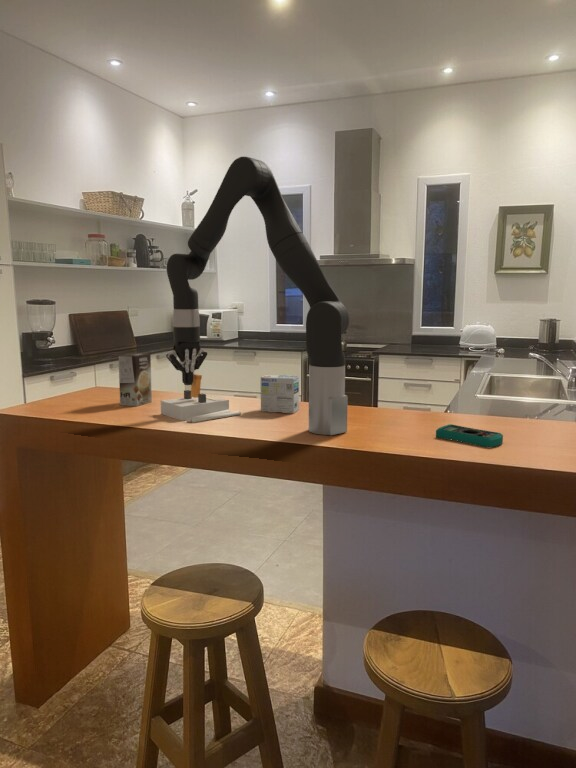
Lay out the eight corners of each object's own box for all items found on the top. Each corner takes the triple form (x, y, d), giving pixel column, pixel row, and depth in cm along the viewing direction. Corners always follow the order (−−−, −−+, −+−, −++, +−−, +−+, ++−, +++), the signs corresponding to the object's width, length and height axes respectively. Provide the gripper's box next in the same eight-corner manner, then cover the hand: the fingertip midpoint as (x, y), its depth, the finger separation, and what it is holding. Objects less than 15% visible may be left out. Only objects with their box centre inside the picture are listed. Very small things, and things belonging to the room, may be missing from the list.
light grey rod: (240, 415, 166) (240, 411, 166) (193, 423, 156) (193, 418, 156) (238, 414, 167) (238, 410, 167) (191, 422, 157) (191, 418, 157)
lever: (200, 397, 167) (201, 375, 166) (195, 397, 166) (197, 375, 165) (194, 396, 169) (196, 374, 169) (190, 396, 168) (191, 374, 168)
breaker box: (229, 413, 169) (228, 392, 168) (182, 420, 159) (181, 398, 158) (206, 407, 178) (206, 387, 177) (161, 414, 168) (160, 392, 167)
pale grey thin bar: (230, 413, 168) (230, 409, 168) (189, 422, 156) (189, 418, 156) (227, 413, 169) (227, 409, 169) (186, 422, 157) (186, 417, 157)
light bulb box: (299, 409, 175) (299, 375, 173) (294, 414, 168) (294, 378, 167) (266, 407, 177) (266, 373, 176) (260, 412, 171) (259, 376, 169)
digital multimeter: (492, 450, 131) (492, 437, 130) (434, 439, 141) (434, 427, 140) (505, 444, 136) (506, 432, 136) (448, 434, 146) (449, 422, 146)
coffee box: (137, 406, 178) (135, 356, 176) (119, 405, 180) (117, 355, 178) (152, 401, 187) (150, 353, 185) (135, 400, 189) (133, 352, 187)
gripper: (172, 326, 156) (174, 388, 158) (213, 324, 164) (214, 384, 167) (159, 325, 161) (161, 385, 164) (198, 324, 170) (200, 381, 172)
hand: (188, 384), depth 165 cm, fingers closed
